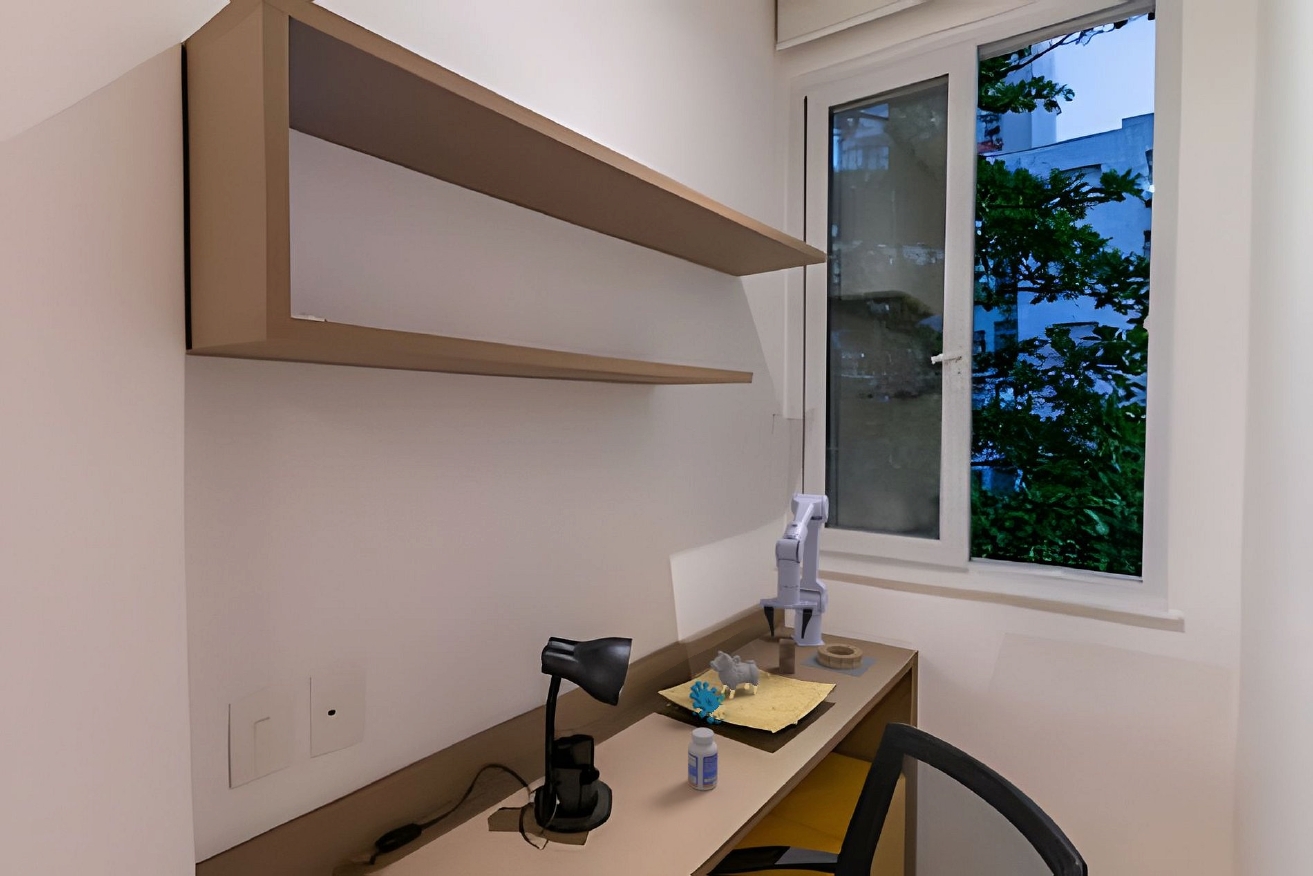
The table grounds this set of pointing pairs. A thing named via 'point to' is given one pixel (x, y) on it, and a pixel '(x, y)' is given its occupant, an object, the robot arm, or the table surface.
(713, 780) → the pill bottle
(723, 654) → the grey dog figurine
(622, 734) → the table surface
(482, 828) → the table surface
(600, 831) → the table surface
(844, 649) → the tan stone ring
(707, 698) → the blue knobby piece
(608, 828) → the table surface
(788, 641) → the walnut peg
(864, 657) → the craft mat
